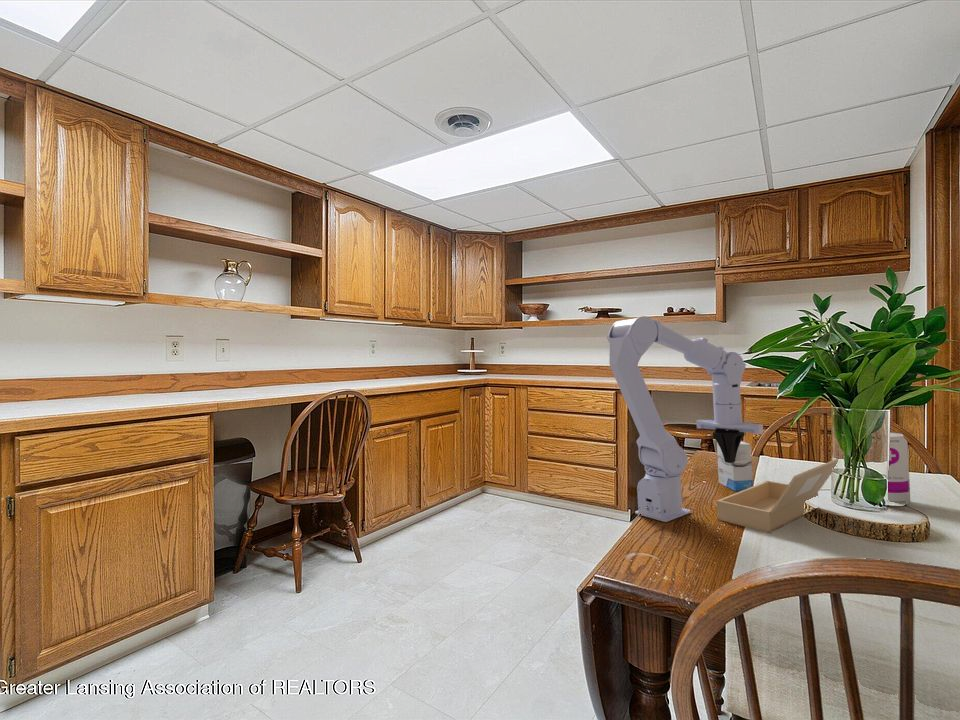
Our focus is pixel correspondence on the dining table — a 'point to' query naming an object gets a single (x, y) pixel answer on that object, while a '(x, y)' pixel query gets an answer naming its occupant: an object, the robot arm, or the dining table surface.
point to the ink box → (736, 469)
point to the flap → (805, 485)
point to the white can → (898, 470)
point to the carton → (760, 507)
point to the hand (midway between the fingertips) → (730, 462)
